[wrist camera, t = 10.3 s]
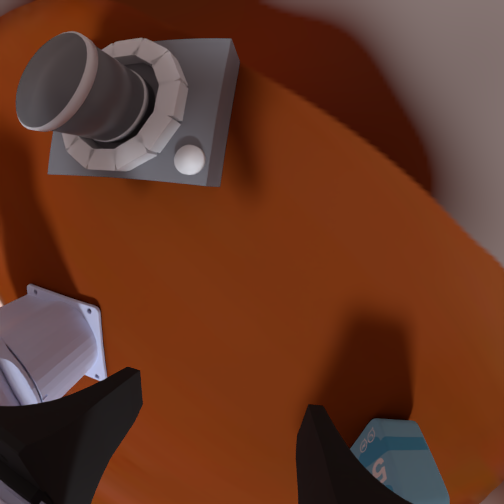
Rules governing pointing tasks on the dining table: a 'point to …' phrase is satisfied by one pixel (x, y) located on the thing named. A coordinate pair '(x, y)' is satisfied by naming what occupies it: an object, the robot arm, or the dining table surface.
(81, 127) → the lens
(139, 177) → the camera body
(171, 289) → the dining table surface
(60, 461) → the robot arm
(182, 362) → the dining table surface
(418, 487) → the data package
